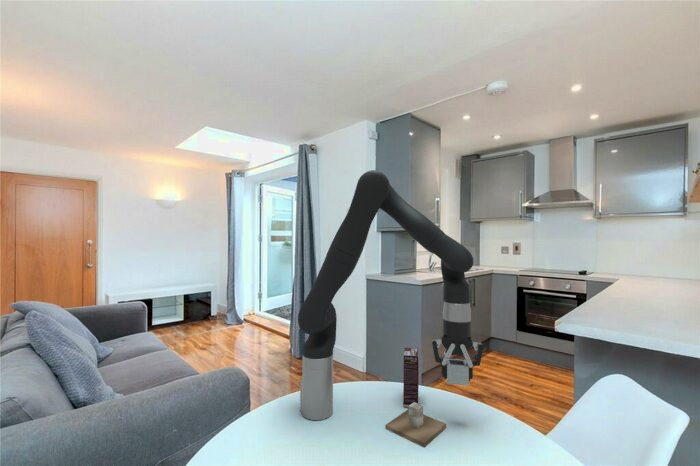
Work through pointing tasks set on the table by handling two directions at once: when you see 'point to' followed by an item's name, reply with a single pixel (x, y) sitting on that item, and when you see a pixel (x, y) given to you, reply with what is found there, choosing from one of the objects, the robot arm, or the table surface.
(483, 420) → the table surface
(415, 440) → the post stand
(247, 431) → the table surface
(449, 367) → the collar
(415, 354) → the supplement box
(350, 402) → the table surface
